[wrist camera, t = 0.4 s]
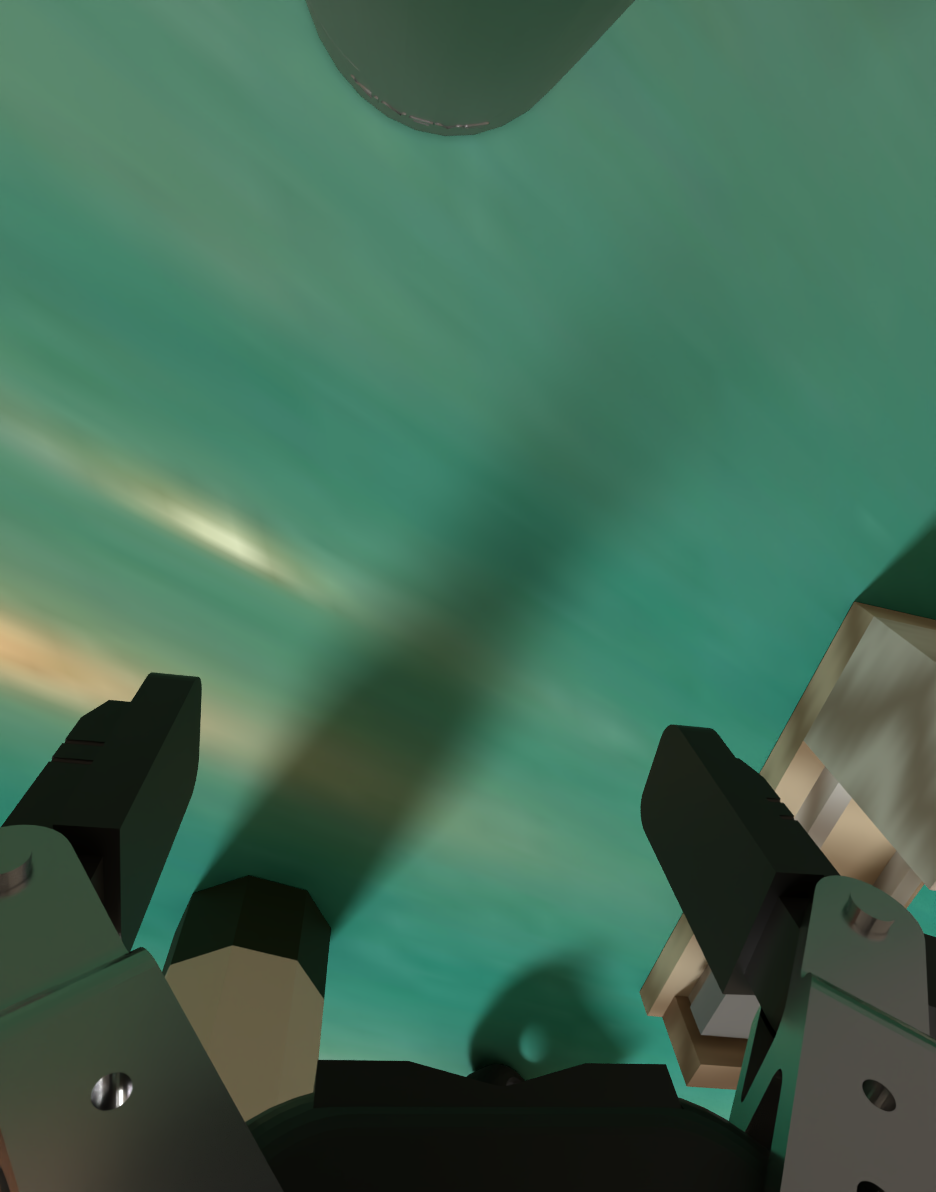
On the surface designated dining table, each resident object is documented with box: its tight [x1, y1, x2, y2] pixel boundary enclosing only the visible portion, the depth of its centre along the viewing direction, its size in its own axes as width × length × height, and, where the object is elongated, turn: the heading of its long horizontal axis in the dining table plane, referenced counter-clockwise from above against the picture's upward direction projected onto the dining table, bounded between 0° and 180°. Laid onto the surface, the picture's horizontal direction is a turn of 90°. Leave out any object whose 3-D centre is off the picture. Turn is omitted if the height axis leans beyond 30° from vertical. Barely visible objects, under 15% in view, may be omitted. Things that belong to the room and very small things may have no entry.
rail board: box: [640, 602, 936, 1090], centre depth 35 cm, size 28×12×10 cm, turn 165°
